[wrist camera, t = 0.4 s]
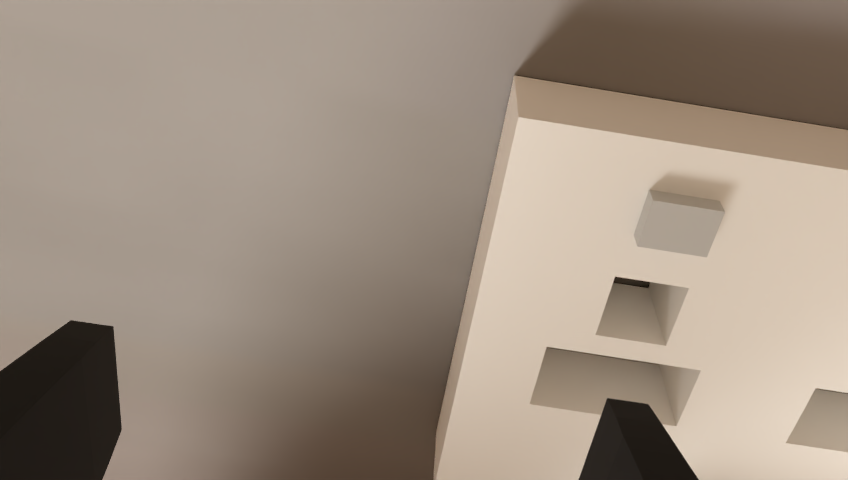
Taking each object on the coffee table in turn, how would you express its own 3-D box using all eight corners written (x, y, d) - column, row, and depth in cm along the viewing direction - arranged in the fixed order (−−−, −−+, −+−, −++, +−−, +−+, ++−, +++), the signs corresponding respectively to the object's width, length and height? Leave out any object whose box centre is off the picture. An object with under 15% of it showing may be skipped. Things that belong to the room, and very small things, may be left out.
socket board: (893, 499, 26) (938, 582, 24) (436, 431, 26) (431, 507, 23) (1117, 174, 20) (1211, 238, 17) (514, 75, 19) (519, 126, 17)
